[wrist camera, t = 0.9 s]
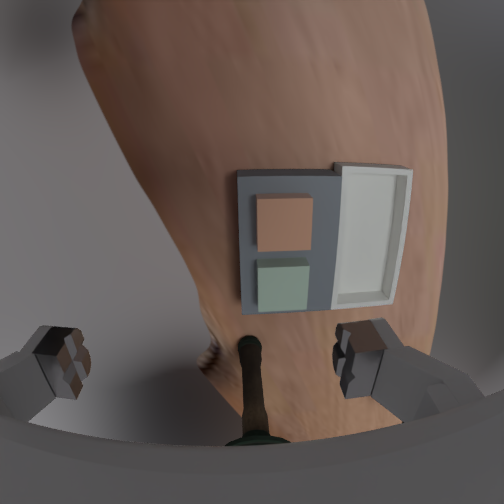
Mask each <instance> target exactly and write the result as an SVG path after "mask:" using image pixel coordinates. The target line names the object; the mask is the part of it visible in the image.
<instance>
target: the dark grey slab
mask: <svg viewBox="0 0 504 504" xmlns="http://www.w3.org/2000/svg"><path fill="white" fill-rule="evenodd" d="M237 185H238V218H239V248H240V276H241V302H242V315H248V314H270V313H289V312H305V311H320V310H331V303H332V294H333V286H334V276H335V267H336V256H337V245H338V233H339V220H340V206H341V189H342V176H341V175H339V174H337V173H335V172H334V171H332V170H330V169H257V170H237ZM269 193H309V194H310V195H311V197H312V198H313V214H312V235H311V250H297V251H268V252H258V251H257V244H256V194H269ZM296 257H306V259H307V261H308V263H309V265H310V270H309V284H308V298H307V309H306V310H289V311H270V312H258V305H257V259H269V258H296Z"/></svg>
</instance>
